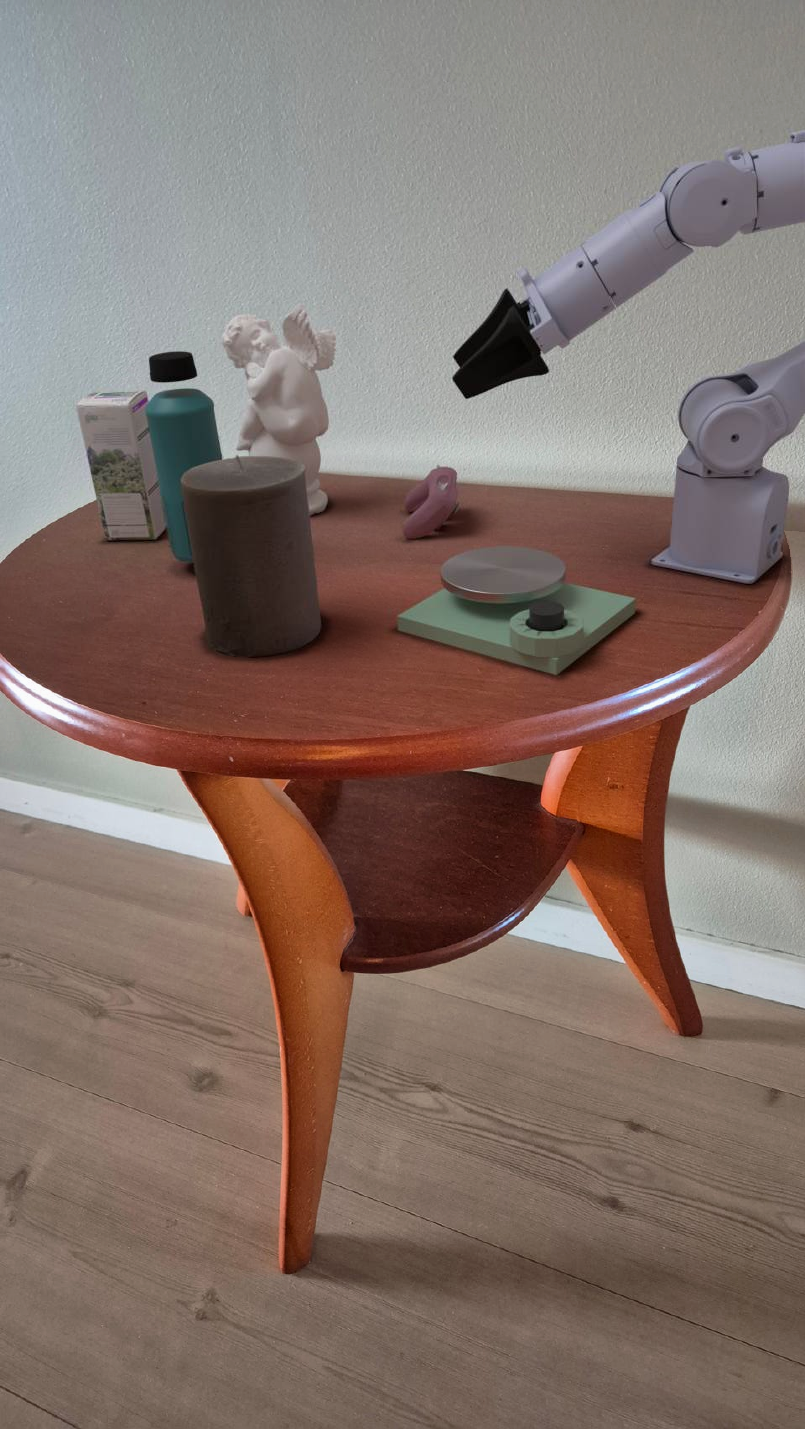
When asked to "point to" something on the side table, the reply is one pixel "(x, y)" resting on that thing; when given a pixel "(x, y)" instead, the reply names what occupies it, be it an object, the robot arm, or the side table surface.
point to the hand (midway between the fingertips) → (459, 377)
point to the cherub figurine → (283, 391)
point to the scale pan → (503, 574)
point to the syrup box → (122, 464)
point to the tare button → (546, 616)
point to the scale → (520, 625)
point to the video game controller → (431, 502)
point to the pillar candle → (253, 554)
